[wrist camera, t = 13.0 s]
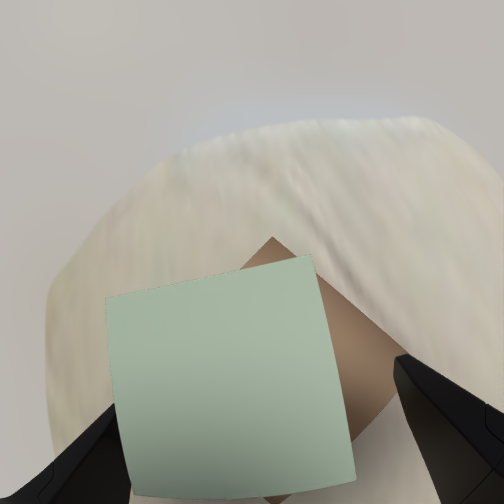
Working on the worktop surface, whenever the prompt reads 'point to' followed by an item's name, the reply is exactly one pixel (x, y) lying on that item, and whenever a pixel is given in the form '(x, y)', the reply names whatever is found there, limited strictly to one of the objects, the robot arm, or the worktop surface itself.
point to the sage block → (229, 386)
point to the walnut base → (349, 351)
